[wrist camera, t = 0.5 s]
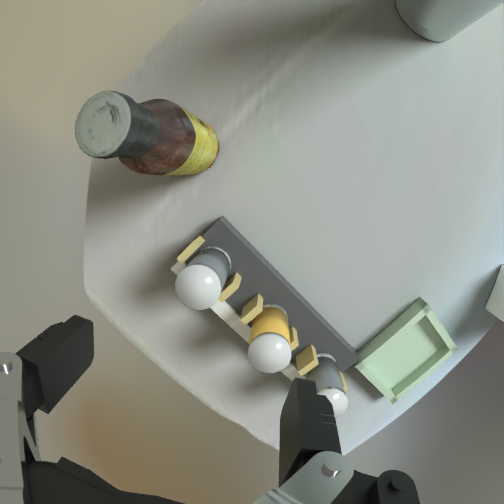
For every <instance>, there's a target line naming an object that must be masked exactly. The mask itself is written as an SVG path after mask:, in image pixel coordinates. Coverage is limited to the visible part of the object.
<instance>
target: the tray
mask: <svg viewBox="0 0 504 504" xmlns="http://www.w3.org/2000/svg"><path fill="white" fill-rule="evenodd" d="M457 350H458V348H457V347H456V345H455V344H454V342H453V341H452V339H451V338H450V336H449V335H448V333H447V332H446V330H445V329H444V327H443V326H442V324H441V323H440V321H439V320H438V318H437V317H436V315H435V314H434V312H433V311H432V310H431V308H430V307H429V305H428V304H427V303H426V302H425V301H424V300H423V299H421V298H420V297H419V298H418V299H417V300H416V301H415V302H414V303H413V304H412V305H411V306H410V307H409V308H408V309H406V310H405V311H404V312H403V313H402V314H401V315H400V316H399V317H398V318H397V319H395V320H394V321H393V322H392V323H391V324H390V325H389V326H387V327H386V328H385V329H384V330H383V331H382V332H381V333H379V334H378V335H377V336H376V337H375V338H373V339H372V340H371V341H370V342H369V343H367V344H366V345H365V346H364V347H363V348H361V349H360V350H359V351H358V352H356V354H357V356H358V359H359V360H358V361H357V362H356V363H354V365H355V367H356V368H357V369H358V370H359V371H360V372H361V373H362V374H363V375H364V376H365V377H366V378H367V379H368V380H369V381H370V382H371V383H372V384H373V385H374V386H375V387H376V388H377V389H378V390H379V391H380V392H381V393H382V394H383V395H384V396H385V397H386V398H387V399H388V400H389V401H390V402H392V403H395V402H396V401H397V400H399V399H400V398H401V397H403V396H404V395H405V394H407V393H408V392H409V391H410V390H412V389H413V388H414V387H415V386H417V385H418V384H419V383H420V382H422V381H423V380H424V379H425V378H426V377H427V376H429V375H430V374H431V373H432V372H433V371H435V370H436V369H437V368H438V367H439V366H440V365H441V364H442V363H444V362H445V361H446V360H447V359H448V358H449V357H450V356H451V355H452V354H453V353H454V352H456V351H457Z"/></svg>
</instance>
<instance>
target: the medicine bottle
mask: <svg viewBox="0 0 504 504" xmlns="http://www.w3.org/2000/svg"><path fill="white" fill-rule="evenodd" d="M485 308H486V310H488V311H489V312H490V313H492V314H493V315H495V316H496V317H497V318H499V319H500V320H501V321H503V322H504V264H502V266H501V268H500V271H499V274H498V277H497V279H496V282H495V285H494V287H493V290H492V292H491V295H490V297H489V300H488V302H487V305H486V307H485Z"/></svg>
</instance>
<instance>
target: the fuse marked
mask: <svg viewBox="0 0 504 504" xmlns="http://www.w3.org/2000/svg"><path fill="white" fill-rule="evenodd" d="M248 360H249V362H250V364H251V365H252V366H253V367H254V368H255V369H256V370H258V371H260V372H264V373H275V372H279V371H281V370H283V369H284V368H285V367H286V366H287V365H288V364H289V362H290V360H291V345H290V334H289V324H288V315H287V313H286V311H285V309H284V308H283V307H281V306H280V305H278V304H275V303H266V304H263V310H262V312H261V313H259V314H258V315H257V316H256V317H255V318H254V319H253V320H252V327H251V334H250V341H249V348H248Z"/></svg>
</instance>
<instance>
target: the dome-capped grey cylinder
mask: <svg viewBox="0 0 504 504" xmlns="http://www.w3.org/2000/svg"><path fill="white" fill-rule="evenodd" d="M231 267H232V262H231V258H230V256H229V254H228V253H227V252H226V251H225V250H224V249H222V248H220V247H217V246H208V247H205V248H204V249H202V250H201V251H200V252H199V253H198V254H197V255H196V256H195V257H194V258H193V259H192V260H191V262H190V263H189V264H188V265H187V266H186V267H185V268H184V269H183V270H182V271H181V272H180V273H179V275H178V276H177V278H176V281H175V291H176V294H177V296H178V298H179V300H180V301H181V302H182V303H183V304H184V305H186V306H187V307H189V308H191V309H195V310H204V309H207V308H210V307H211V306H213V305H214V304H215V303H216V302H217V300H218V298H219V296H220V294H221V291H222V289H223V287H224V284H225V282H226V280H227V278H228V275H229V273H230V271H231Z"/></svg>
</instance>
